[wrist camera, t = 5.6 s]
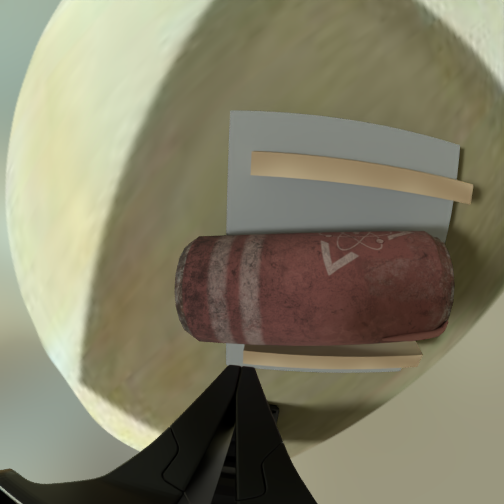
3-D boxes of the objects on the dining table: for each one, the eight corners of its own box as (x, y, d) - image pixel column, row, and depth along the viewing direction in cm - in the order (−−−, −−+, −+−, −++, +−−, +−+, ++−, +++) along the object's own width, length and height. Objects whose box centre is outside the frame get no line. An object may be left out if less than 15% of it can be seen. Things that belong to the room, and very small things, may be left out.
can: (160, 323, 12) (470, 319, 9) (188, 215, 16) (439, 208, 13) (203, 355, 17) (424, 354, 14) (218, 270, 21) (412, 266, 18)
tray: (397, 363, 21) (406, 387, 18) (228, 356, 22) (221, 382, 19) (452, 144, 14) (477, 147, 12) (233, 112, 16) (223, 105, 13)
